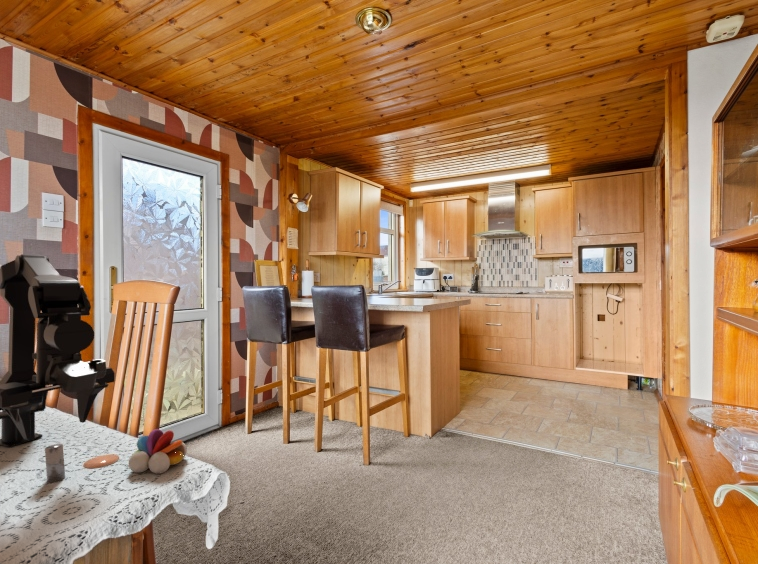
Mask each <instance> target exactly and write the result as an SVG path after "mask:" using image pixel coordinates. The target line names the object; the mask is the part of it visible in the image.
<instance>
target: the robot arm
mask: <svg viewBox="0 0 758 564" xmlns="http://www.w3.org/2000/svg"><path fill="white" fill-rule="evenodd" d="M0 296H1V299H3V300H4V302H5V303H6V304H7V306H9V323H8V324H9V327H8V364H7V365H8V370H7V371H6V373H5V374H4V376H2V378H1V379H0V420H1V438H0V446H4V447H7V448H10V447H11V448H12V447H14V446H18V445H20V444H21V445H22V444H25V443H27V442H31V441H34V440H36V439H41V438H42V437H43V434H41V433H37V432H36V418H35V417H36V413H39V412H45V409H47V407H46V406H47V405H46V404H47V399H48V394H49V391H55V390H60V389H63V391H64V392H65V393H71V394H72V393H76V401H77V402H76V403H77V413H78V414H77V415H78V420H79V422H80V423H82V424H84V423H85V422H87V419H88V416H89V414H90V411H91V409H92V407H93V404H94V402H95V400H96V398H97V396H98V394H99V393H101V392H102V391H103V390H104V389H106V388H108V387H109V386H110V385H109V384H111V383H115V381H116V372H115V370H114V369H113V368H112V367H107V363H106V362H107V361H106V360H105V359H103V358H97V359H91V360H90V361H89V360H88V361H83V358H82V352H83V351H84V350H86V349H88V347H89V346H91V344H93V341H94V339H95V330H94V329H93V326H91V324H90V323H89V322H87V321H86V320H82V316H83V317H85V316H87V317H88V316H90V311H91V308H92V305H91V303H90V300H89V297H88V295H87V292H86V291H85V288H84V286H83V285H81V283H80V281H78V280H77V279H75V278H74V277H71V276H64V275H61V274H60V273H59V272H58V270H57V269H56V268H54V266H53V265H52V264H51V263H50V259H49V257H48V256H45V255H44V254H26V253H25V254H23V253H22V254H19V255H16V256H15V259H14V260H12V261H9V262H7V263H5V264H2V265H1V266H0ZM36 319H37V321H36ZM35 346H36V347H35ZM35 360H36V371H35Z"/></svg>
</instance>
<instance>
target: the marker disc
mask: <svg viewBox="0 0 758 564" xmlns="http://www.w3.org/2000/svg"><path fill="white" fill-rule="evenodd" d="M119 459H120V456H119V455H117V454H102V455H99V456H95V457H92V458H90V459H88V460H86V461H85V462H84V463H83V464H82V465H83V466H82V467H84V468H86V469H97V468H104V467H107V466H109V465H112V464H115V463H116V462H117V460H119Z"/></svg>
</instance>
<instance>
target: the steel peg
mask: <svg viewBox="0 0 758 564" xmlns="http://www.w3.org/2000/svg"><path fill="white" fill-rule="evenodd" d="M44 455H45V468H46V481H47V483H55V482H58V481H60V480H62V479H65V477H66V470H65V457H64V455H65V454H64V444H63V443H55V444H51V445H48V446H47V447H45V448H44Z"/></svg>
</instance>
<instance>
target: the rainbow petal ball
mask: <svg viewBox="0 0 758 564" xmlns="http://www.w3.org/2000/svg"><path fill="white" fill-rule="evenodd" d="M174 435H175V434H174V431H173V430H167V431H165V432H163V430H161V429H158V428H156V429H153V430H151V432H150V433H149V434H148V435H143V436H140V437H138V438H139V439H138V440H137V442H136V447H137V450H136V451H134V453H133V454H131V455H130V457H129V460H128V467H129V469H130V471H131V472H133V473H143V472H145V471H147V470H148V469H149V470H150V472H152V473H153V474H163V473H165V472H166V471H168V469H169V468H170V466H171V465H176V464H179V463H181V462H182V461H183V459H184V458H185V456H186V455H187V453H188V450H187V445H186V444H185V443H184V442H183V441H182V439H179V440H176V441H173V439H174ZM175 452H176V453H175ZM180 454H181V455H180ZM183 455H184V456H183Z"/></svg>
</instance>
